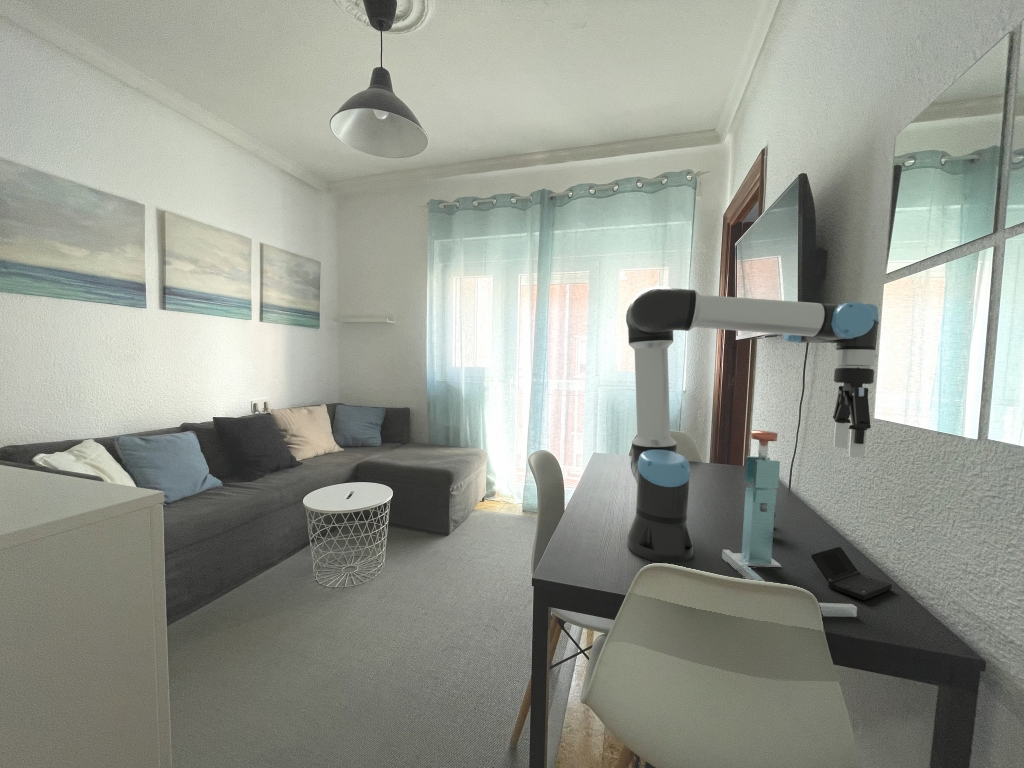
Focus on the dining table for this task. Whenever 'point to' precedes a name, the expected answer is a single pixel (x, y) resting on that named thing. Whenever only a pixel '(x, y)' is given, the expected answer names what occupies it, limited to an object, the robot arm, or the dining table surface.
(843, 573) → the handheld gaming console
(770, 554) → the frame
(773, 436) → the plunger
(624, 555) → the dining table surface
